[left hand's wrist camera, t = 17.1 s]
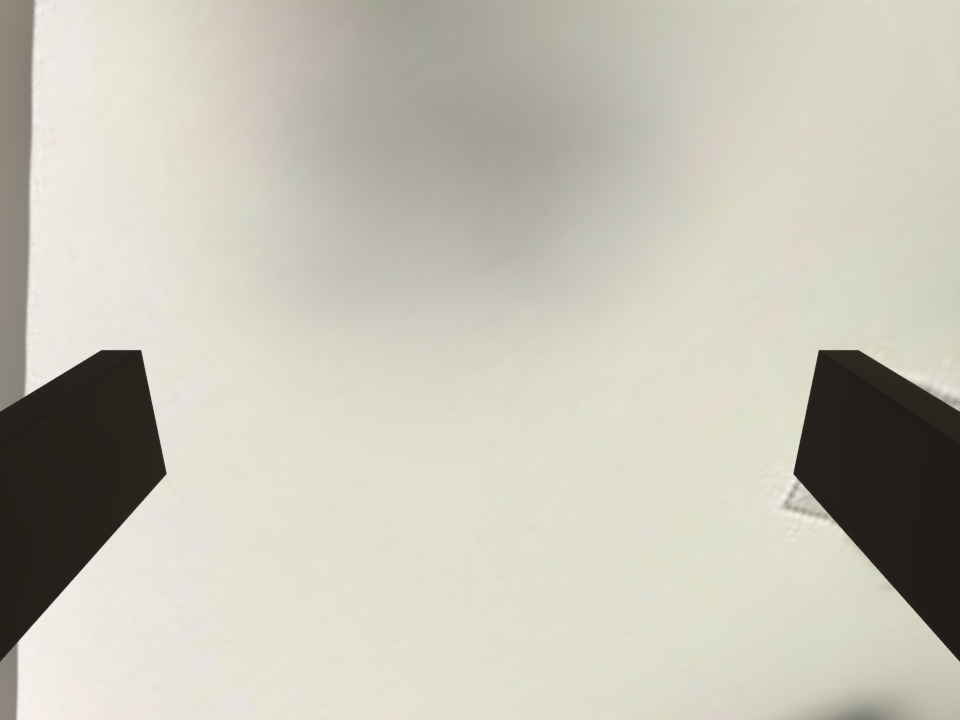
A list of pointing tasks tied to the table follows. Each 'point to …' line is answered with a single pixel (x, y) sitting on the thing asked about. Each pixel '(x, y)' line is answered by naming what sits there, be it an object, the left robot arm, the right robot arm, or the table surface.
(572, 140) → the table surface
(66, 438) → the left robot arm
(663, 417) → the table surface
